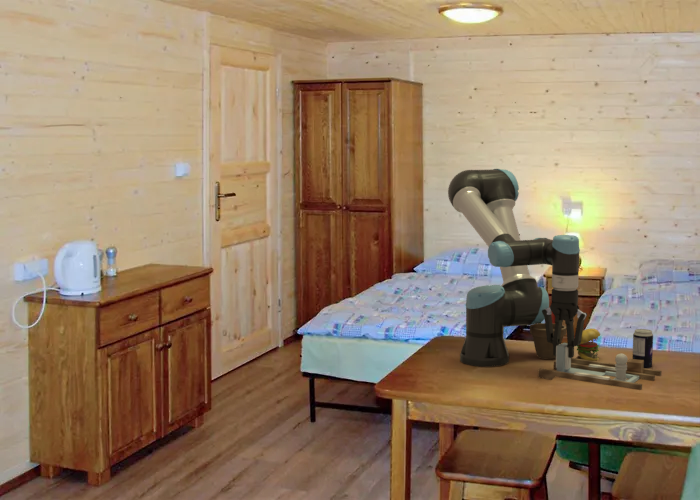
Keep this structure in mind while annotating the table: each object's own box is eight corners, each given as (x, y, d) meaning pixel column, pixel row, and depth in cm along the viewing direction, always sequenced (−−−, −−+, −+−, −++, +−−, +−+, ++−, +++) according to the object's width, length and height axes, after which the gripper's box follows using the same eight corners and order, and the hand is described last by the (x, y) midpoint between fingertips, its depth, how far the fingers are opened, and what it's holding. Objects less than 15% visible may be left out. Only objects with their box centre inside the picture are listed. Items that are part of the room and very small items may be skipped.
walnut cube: (626, 375, 262) (626, 361, 261) (629, 372, 265) (629, 358, 265) (640, 376, 260) (641, 363, 259) (643, 373, 263) (643, 360, 263)
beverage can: (653, 372, 269) (654, 333, 267) (633, 371, 270) (634, 332, 268) (650, 367, 274) (652, 328, 273) (631, 367, 275) (632, 328, 274)
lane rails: (538, 377, 264) (538, 367, 264) (562, 364, 279) (563, 354, 279) (640, 394, 247) (640, 382, 247) (661, 379, 262) (661, 368, 261)
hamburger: (598, 365, 277) (599, 327, 276) (574, 363, 280) (574, 325, 278) (601, 360, 284) (601, 322, 283) (577, 358, 287) (578, 320, 285)
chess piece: (634, 385, 256) (635, 354, 254) (621, 388, 253) (622, 356, 252) (619, 381, 260) (619, 350, 259) (606, 384, 257) (607, 353, 256)
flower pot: (535, 351, 297) (536, 321, 295) (570, 355, 291) (570, 324, 290) (524, 358, 287) (524, 327, 286) (559, 363, 281) (559, 331, 280)
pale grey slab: (553, 377, 263) (554, 347, 262) (565, 370, 271) (566, 341, 269) (628, 389, 250) (629, 357, 249) (639, 382, 258) (640, 351, 257)
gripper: (535, 288, 264) (533, 366, 267) (585, 292, 256) (583, 374, 259) (545, 284, 270) (544, 361, 273) (594, 289, 262) (592, 368, 265)
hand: (563, 367), depth 266 cm, fingers closed on pale grey slab, 2 cm apart
